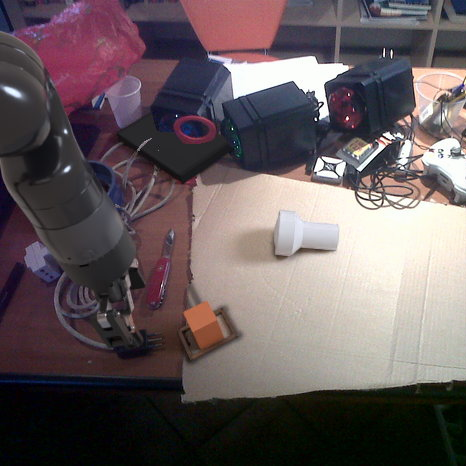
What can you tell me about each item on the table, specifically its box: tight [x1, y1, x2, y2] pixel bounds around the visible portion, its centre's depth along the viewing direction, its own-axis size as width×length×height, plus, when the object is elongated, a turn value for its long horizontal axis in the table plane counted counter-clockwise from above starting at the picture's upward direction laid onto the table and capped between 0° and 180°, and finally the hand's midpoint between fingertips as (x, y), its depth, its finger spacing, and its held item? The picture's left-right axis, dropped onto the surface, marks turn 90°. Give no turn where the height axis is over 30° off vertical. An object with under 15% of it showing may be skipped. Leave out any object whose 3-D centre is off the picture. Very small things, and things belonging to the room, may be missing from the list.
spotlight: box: [273, 209, 340, 257], centre depth 86 cm, size 8×11×8 cm
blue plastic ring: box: [87, 159, 125, 213], centre depth 96 cm, size 15×15×6 cm
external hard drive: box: [116, 111, 234, 185], centre depth 108 cm, size 14×23×3 cm, turn 49°
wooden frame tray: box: [176, 306, 239, 362], centre depth 80 cm, size 8×17×2 cm, turn 30°
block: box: [182, 300, 225, 351], centre depth 75 cm, size 4×4×6 cm
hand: (136, 314), depth 62 cm, fingers open, 8 cm apart
